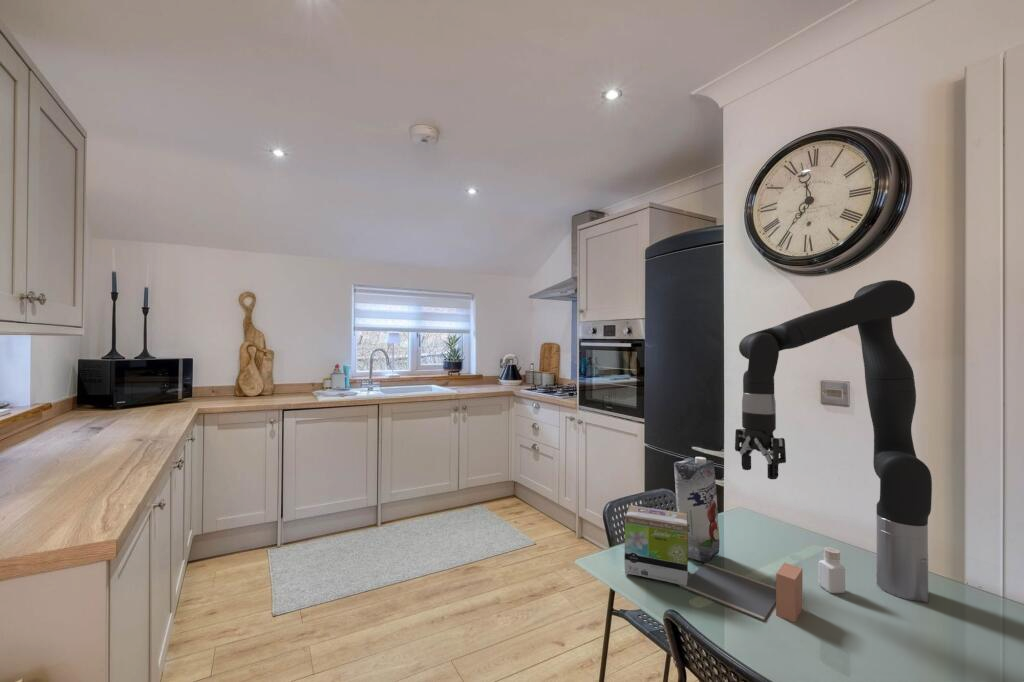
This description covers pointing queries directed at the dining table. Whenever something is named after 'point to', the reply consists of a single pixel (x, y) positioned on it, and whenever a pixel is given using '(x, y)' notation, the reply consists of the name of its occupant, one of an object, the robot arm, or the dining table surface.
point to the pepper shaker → (832, 571)
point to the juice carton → (698, 506)
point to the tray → (733, 590)
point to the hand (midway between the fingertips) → (759, 474)
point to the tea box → (656, 544)
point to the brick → (789, 592)
